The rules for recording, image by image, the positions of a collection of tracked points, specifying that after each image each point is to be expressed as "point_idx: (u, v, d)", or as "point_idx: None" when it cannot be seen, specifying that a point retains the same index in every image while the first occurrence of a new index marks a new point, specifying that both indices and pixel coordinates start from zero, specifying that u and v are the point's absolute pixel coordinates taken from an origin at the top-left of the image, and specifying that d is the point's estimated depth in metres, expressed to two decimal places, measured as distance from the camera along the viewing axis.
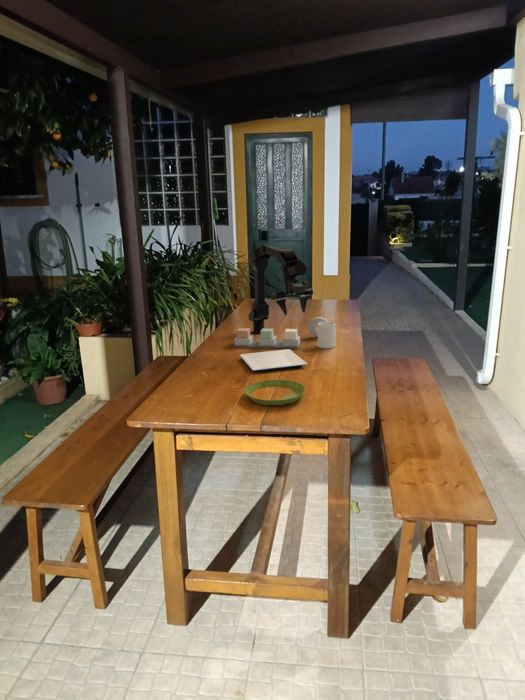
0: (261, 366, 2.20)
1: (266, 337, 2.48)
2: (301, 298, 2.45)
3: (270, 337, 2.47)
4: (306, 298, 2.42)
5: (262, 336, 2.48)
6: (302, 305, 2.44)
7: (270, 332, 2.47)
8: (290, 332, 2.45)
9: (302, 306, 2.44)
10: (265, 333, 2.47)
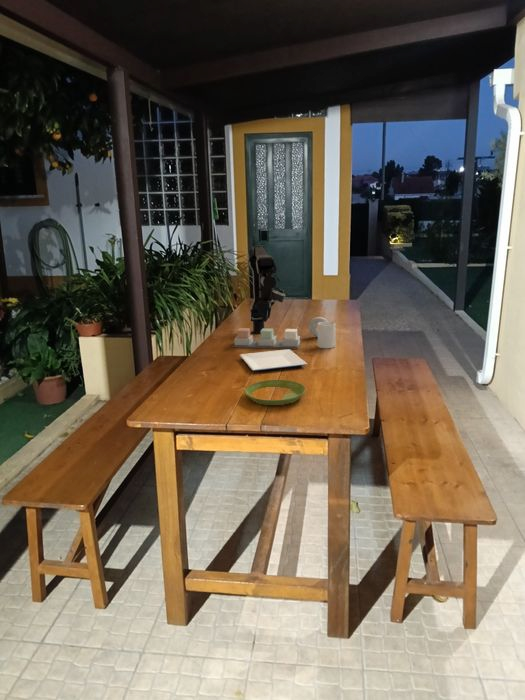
0: (261, 366, 2.20)
1: (266, 337, 2.48)
2: None
3: (270, 337, 2.47)
4: (272, 304, 2.50)
5: (262, 336, 2.48)
6: (267, 311, 2.50)
7: (270, 332, 2.47)
8: (290, 332, 2.45)
9: (267, 312, 2.51)
10: (265, 333, 2.47)
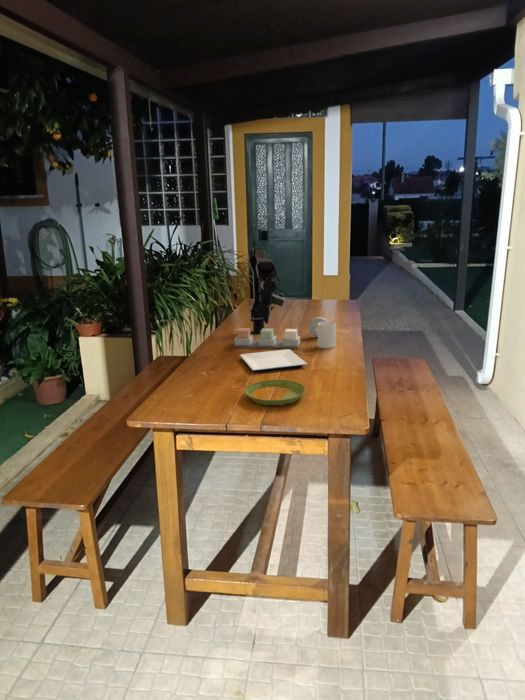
0: (261, 366, 2.20)
1: (266, 337, 2.48)
2: None
3: (270, 337, 2.47)
4: None
5: (262, 336, 2.48)
6: None
7: (270, 332, 2.47)
8: (290, 332, 2.45)
9: None
10: (265, 333, 2.47)
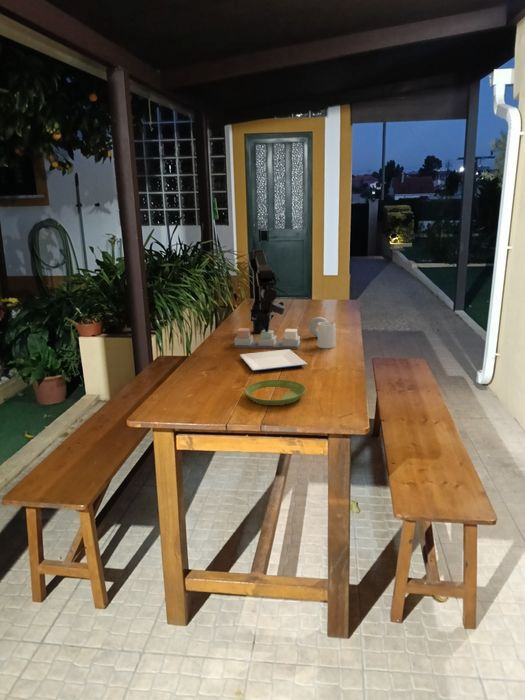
0: (261, 366, 2.20)
1: None
2: None
3: None
4: None
5: (262, 338, 2.48)
6: None
7: (270, 334, 2.47)
8: (290, 332, 2.45)
9: None
10: (265, 335, 2.47)
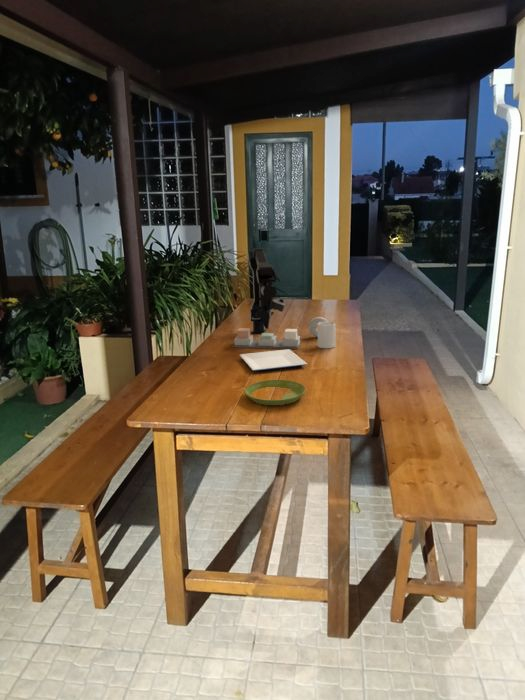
0: (261, 366, 2.20)
1: None
2: None
3: None
4: None
5: None
6: None
7: (270, 337, 2.47)
8: (290, 332, 2.45)
9: None
10: (265, 337, 2.48)
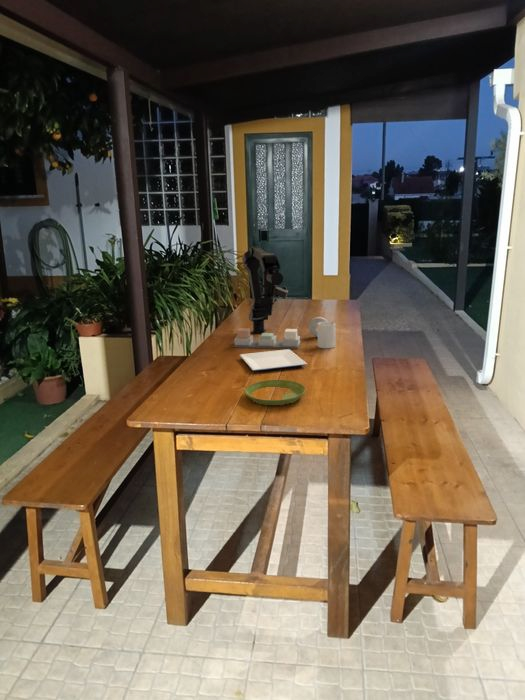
0: (261, 366, 2.20)
1: None
2: None
3: None
4: None
5: None
6: None
7: (270, 337, 2.47)
8: (290, 332, 2.45)
9: None
10: (265, 337, 2.48)
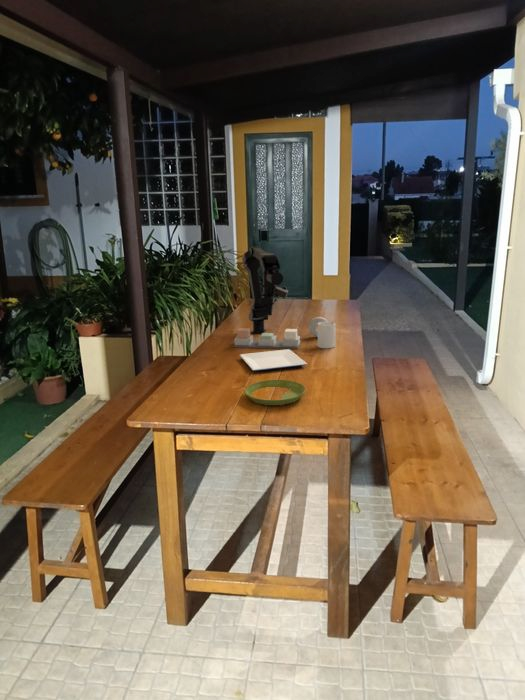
0: (261, 366, 2.20)
1: None
2: None
3: None
4: None
5: None
6: None
7: (270, 337, 2.47)
8: (290, 332, 2.45)
9: None
10: (265, 337, 2.48)
